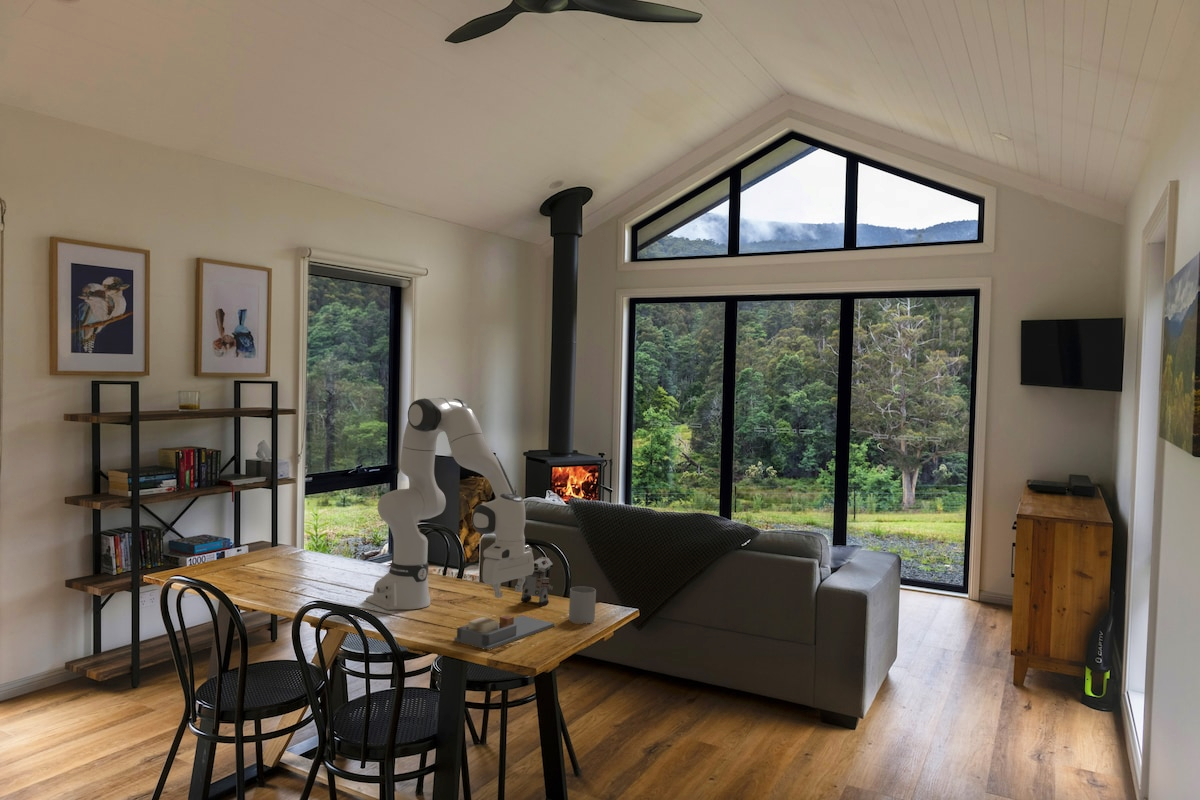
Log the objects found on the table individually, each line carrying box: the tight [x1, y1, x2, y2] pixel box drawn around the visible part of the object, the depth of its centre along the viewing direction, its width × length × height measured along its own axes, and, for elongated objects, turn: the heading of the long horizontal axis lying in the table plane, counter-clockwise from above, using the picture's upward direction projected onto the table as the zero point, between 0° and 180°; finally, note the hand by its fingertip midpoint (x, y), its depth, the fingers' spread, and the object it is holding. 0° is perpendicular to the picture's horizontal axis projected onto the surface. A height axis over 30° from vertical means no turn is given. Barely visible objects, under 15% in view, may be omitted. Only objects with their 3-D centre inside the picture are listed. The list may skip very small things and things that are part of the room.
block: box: [468, 614, 515, 633], centre depth 241 cm, size 6×15×5 cm, turn 146°
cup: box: [568, 585, 597, 625], centre depth 264 cm, size 8×8×10 cm
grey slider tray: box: [453, 615, 555, 651], centre depth 246 cm, size 13×31×4 cm, turn 146°
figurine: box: [520, 556, 554, 607], centre depth 284 cm, size 9×12×15 cm
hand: (508, 594), depth 246 cm, fingers open, 8 cm apart
